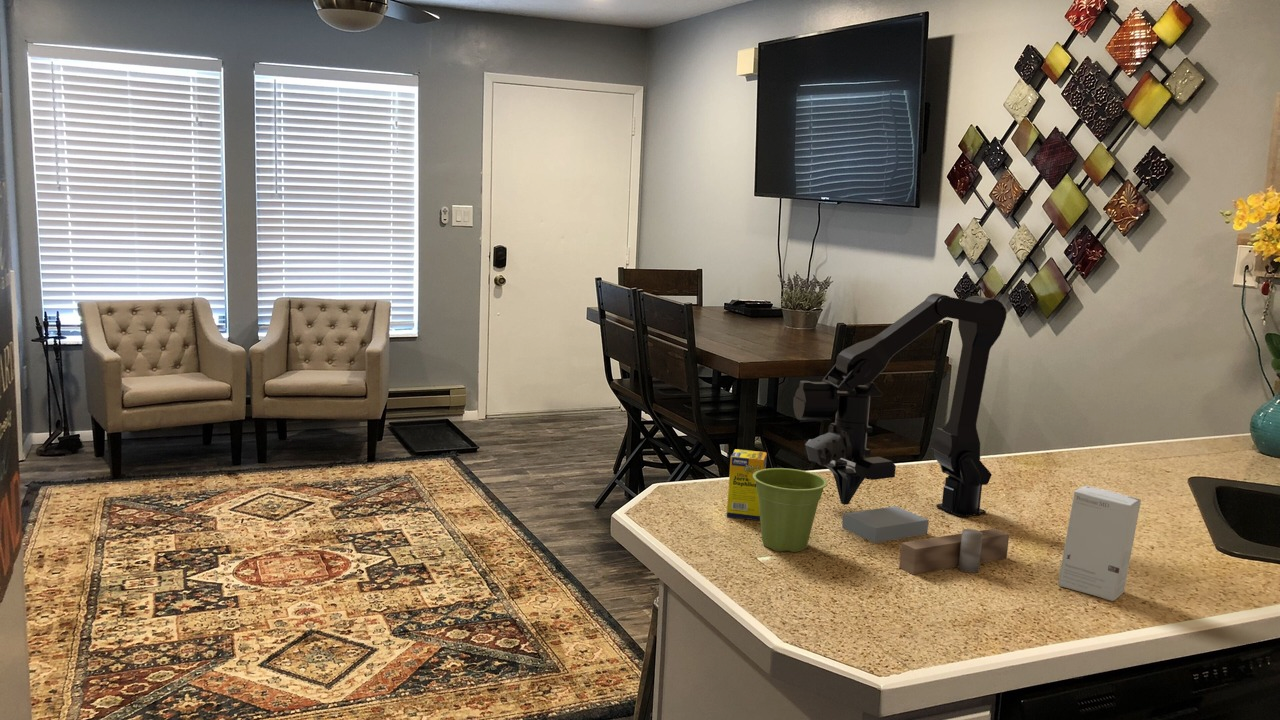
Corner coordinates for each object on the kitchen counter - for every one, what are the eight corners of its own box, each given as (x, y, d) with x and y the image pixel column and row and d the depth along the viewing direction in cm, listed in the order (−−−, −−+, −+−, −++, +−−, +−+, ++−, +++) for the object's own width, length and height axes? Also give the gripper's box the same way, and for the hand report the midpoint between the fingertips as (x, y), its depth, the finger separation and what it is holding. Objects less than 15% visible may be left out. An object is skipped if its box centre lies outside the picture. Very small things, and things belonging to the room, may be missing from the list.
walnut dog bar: (992, 551, 162) (996, 516, 161) (1021, 564, 157) (1025, 528, 156) (899, 567, 152) (902, 530, 151) (927, 581, 147) (931, 542, 146)
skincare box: (1057, 586, 148) (1069, 490, 146) (1070, 576, 152) (1082, 483, 150) (1117, 603, 143) (1130, 504, 140) (1128, 592, 147) (1141, 495, 145)
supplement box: (760, 521, 172) (764, 459, 170) (725, 517, 173) (730, 456, 171) (763, 511, 177) (767, 451, 176) (729, 507, 179) (733, 448, 177)
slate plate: (893, 522, 176) (895, 506, 176) (926, 536, 169) (928, 519, 169) (841, 530, 170) (843, 513, 170) (874, 545, 163) (875, 528, 163)
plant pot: (739, 550, 156) (744, 481, 155) (758, 529, 167) (763, 464, 166) (813, 563, 152) (819, 493, 150) (828, 540, 163) (834, 474, 161)
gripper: (783, 411, 181) (777, 493, 183) (850, 434, 164) (842, 525, 167) (832, 408, 186) (825, 488, 188) (901, 430, 170) (893, 518, 172)
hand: (844, 504), depth 179 cm, fingers closed
